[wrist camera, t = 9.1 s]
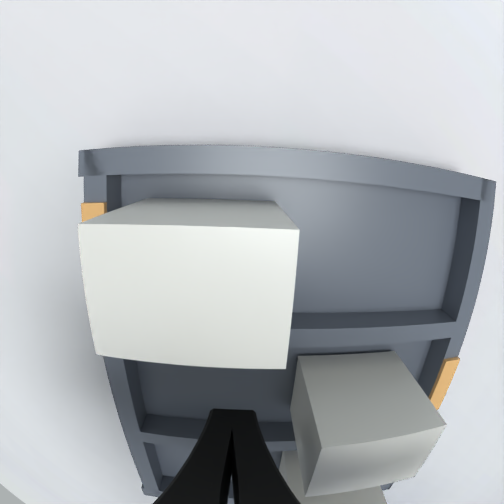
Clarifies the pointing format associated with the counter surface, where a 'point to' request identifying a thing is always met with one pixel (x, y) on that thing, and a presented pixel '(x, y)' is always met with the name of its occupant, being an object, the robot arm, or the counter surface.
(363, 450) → the off-white block
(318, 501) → the pale grey block
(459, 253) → the grey divided tray
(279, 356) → the off-white plastic block
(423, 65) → the counter surface
